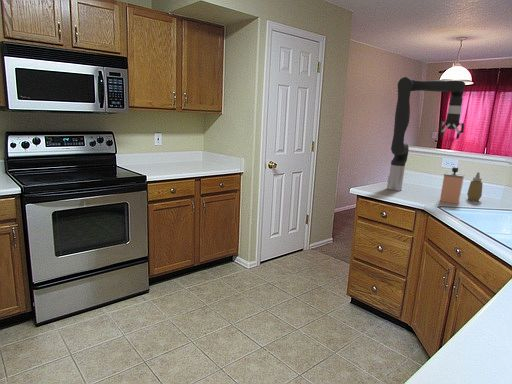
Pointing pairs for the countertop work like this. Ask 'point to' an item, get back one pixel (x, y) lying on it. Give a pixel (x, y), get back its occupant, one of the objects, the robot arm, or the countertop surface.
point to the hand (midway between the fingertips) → (449, 138)
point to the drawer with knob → (454, 173)
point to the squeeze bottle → (475, 188)
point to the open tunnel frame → (451, 189)
